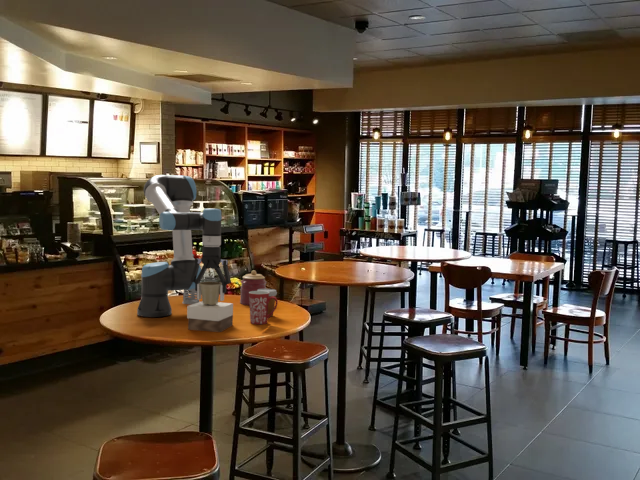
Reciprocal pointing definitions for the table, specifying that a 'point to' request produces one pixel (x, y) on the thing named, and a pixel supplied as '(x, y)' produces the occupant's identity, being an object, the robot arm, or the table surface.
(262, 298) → the mug
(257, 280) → the canister
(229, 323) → the tower base
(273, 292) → the disposable coffee cup
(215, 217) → the robot arm
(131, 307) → the table surface
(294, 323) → the table surface
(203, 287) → the flower pot
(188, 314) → the tower top
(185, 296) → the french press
